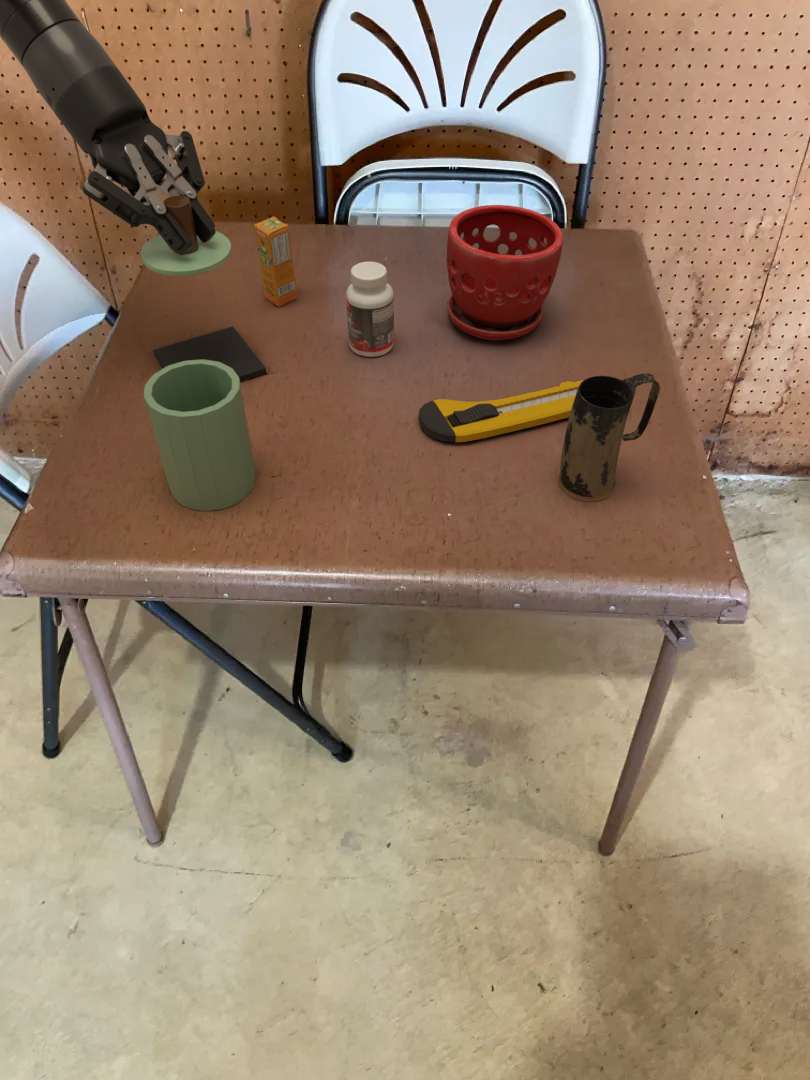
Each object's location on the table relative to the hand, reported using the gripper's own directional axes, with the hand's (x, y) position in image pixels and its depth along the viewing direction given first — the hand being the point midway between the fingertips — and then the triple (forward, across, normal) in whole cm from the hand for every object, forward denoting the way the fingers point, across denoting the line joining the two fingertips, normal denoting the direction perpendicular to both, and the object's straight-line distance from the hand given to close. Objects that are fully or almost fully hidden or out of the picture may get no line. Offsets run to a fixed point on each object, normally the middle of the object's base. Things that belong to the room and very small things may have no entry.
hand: (198, 243), depth 85 cm
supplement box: (+8, +16, +14) cm, 23 cm away
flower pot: (+26, +27, -4) cm, 37 cm away
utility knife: (+33, +13, -12) cm, 38 cm away
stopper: (0, 0, +3) cm, 3 cm away
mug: (+42, +8, -20) cm, 47 cm away
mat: (+9, 0, +12) cm, 16 cm away
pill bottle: (+19, +14, +3) cm, 24 cm away
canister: (+20, -14, +2) cm, 24 cm away
